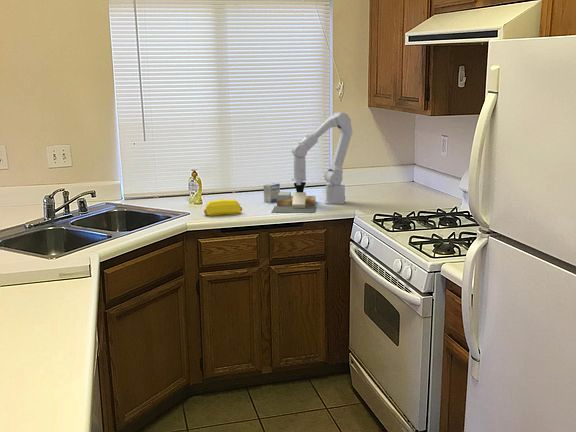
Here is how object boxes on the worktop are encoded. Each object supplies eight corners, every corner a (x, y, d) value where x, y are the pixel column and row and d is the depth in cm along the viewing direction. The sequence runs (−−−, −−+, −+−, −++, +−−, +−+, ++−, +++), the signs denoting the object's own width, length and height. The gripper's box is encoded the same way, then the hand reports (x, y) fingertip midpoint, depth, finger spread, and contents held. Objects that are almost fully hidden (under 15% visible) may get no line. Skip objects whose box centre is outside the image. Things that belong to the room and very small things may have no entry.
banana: (202, 214, 300) (204, 217, 292) (202, 199, 298) (204, 203, 291) (241, 211, 304) (244, 214, 297) (240, 197, 303) (243, 200, 295)
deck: (315, 201, 323) (315, 195, 322) (314, 206, 311) (314, 200, 310) (279, 201, 324) (279, 195, 324) (276, 206, 313) (276, 200, 312)
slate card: (290, 196, 322) (290, 191, 322) (289, 199, 313) (289, 195, 313) (279, 196, 323) (279, 191, 322) (277, 199, 314) (277, 195, 313)
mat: (316, 206, 310) (316, 206, 310) (314, 212, 297) (314, 212, 297) (274, 206, 312) (274, 206, 312) (271, 212, 299) (271, 212, 299)
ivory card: (306, 195, 313) (305, 192, 312) (305, 207, 306) (304, 204, 305) (293, 195, 314) (293, 192, 312) (292, 207, 307) (292, 204, 306)
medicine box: (270, 202, 322) (270, 185, 320) (263, 201, 325) (263, 184, 323) (280, 200, 328) (280, 183, 326) (273, 199, 331) (273, 182, 329)
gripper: (292, 167, 319) (293, 194, 322) (290, 171, 305) (290, 200, 308) (307, 167, 318) (307, 194, 321) (304, 171, 304) (305, 200, 307)
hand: (300, 197), depth 315 cm, fingers closed
